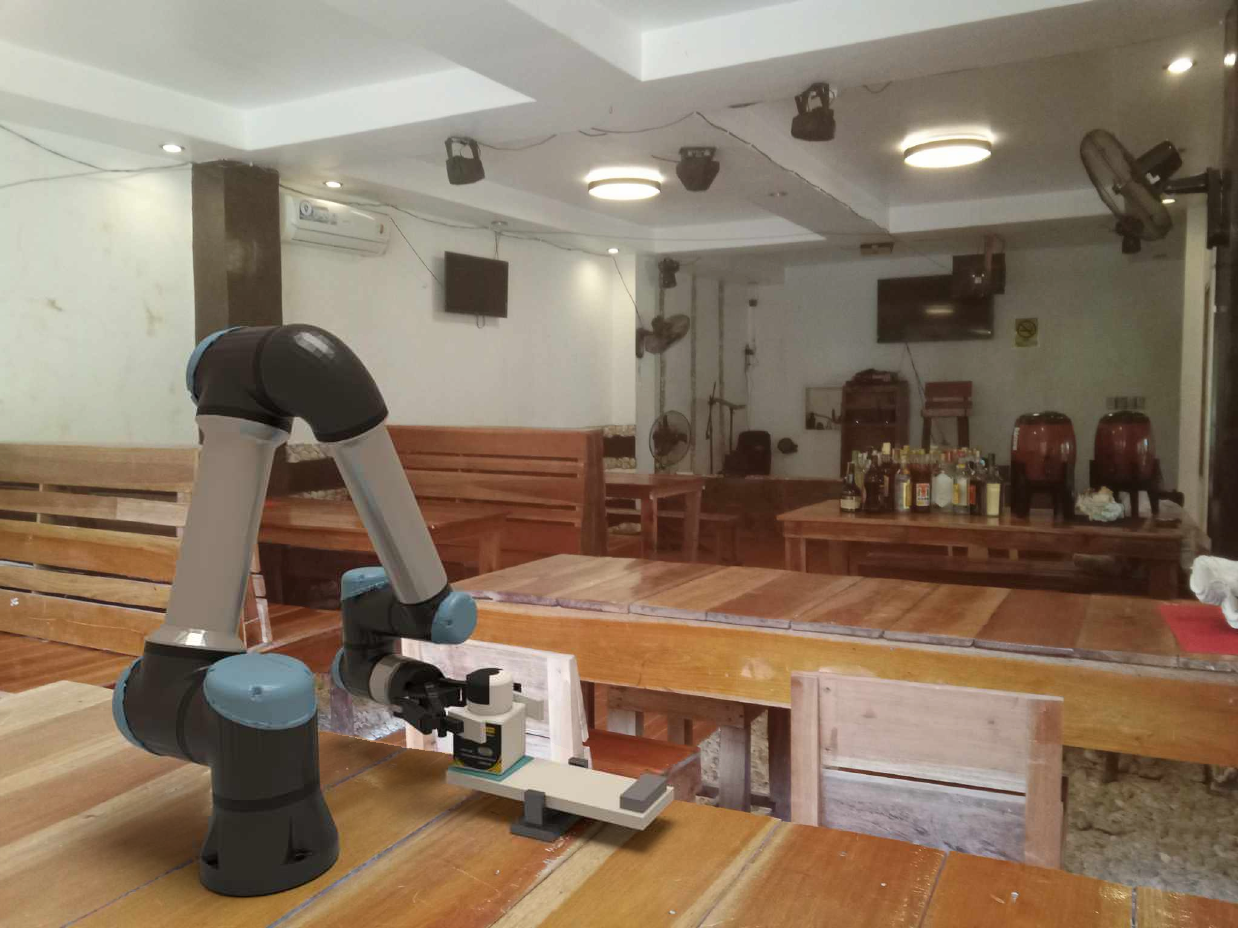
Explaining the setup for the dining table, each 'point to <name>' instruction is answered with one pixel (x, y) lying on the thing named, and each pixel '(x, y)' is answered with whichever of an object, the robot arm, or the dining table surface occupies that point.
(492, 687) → the medicine bottle
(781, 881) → the dining table surface
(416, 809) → the dining table surface
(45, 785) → the dining table surface
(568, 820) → the fulcrum
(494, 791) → the beam
